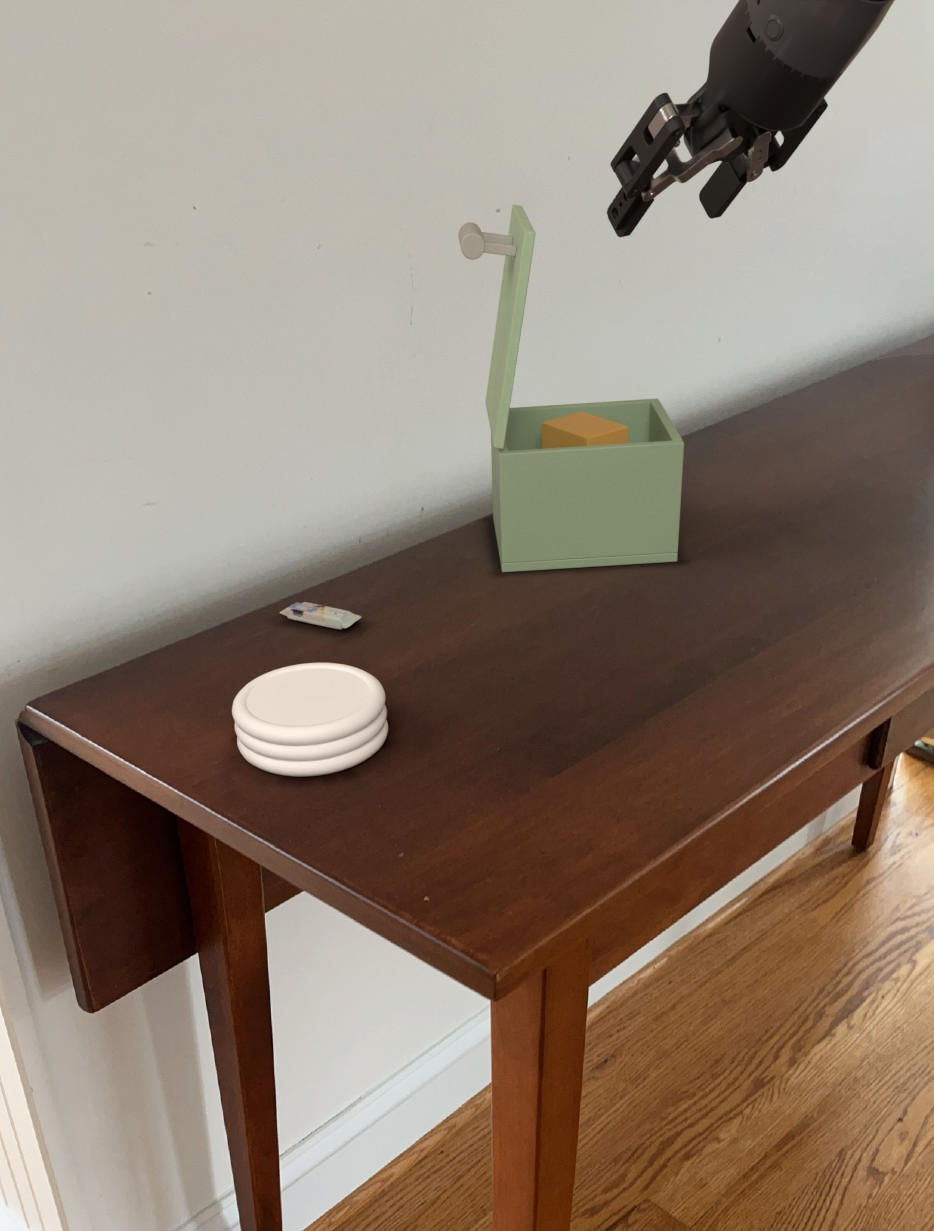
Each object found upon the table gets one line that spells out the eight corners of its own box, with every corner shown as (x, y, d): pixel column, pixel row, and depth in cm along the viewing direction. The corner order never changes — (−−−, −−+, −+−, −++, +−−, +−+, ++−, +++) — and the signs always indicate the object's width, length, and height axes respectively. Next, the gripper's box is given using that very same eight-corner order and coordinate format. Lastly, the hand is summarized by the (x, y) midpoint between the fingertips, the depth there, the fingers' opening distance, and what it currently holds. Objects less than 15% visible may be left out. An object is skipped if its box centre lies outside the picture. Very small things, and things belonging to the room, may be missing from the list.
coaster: (313, 797, 78) (306, 747, 76) (207, 750, 84) (198, 703, 82) (419, 731, 84) (416, 684, 82) (314, 691, 90) (308, 646, 88)
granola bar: (365, 612, 98) (339, 624, 96) (366, 626, 98) (340, 639, 96) (301, 591, 101) (274, 603, 99) (302, 605, 102) (276, 617, 100)
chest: (653, 509, 115) (658, 398, 109) (677, 561, 105) (684, 442, 99) (493, 519, 115) (489, 409, 110) (502, 572, 105) (498, 454, 99)
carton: (581, 514, 113) (582, 411, 108) (625, 533, 109) (629, 426, 103) (542, 526, 111) (541, 422, 106) (585, 546, 107) (587, 438, 102)
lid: (522, 205, 100) (459, 197, 100) (535, 232, 90) (466, 223, 90) (494, 404, 109) (436, 397, 109) (503, 449, 99) (440, 442, 99)
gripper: (857, -42, 78) (712, 158, 92) (685, -27, 72) (559, 185, 86) (914, 61, 77) (759, 247, 92) (745, 85, 71) (608, 280, 86)
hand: (662, 217), depth 89 cm, fingers open, 8 cm apart
